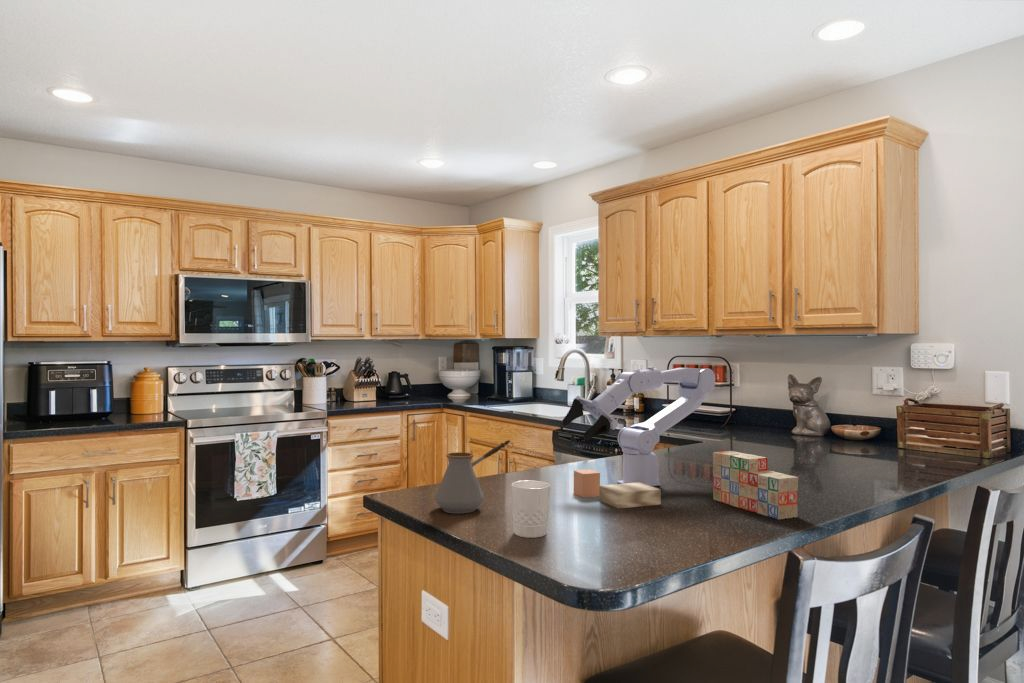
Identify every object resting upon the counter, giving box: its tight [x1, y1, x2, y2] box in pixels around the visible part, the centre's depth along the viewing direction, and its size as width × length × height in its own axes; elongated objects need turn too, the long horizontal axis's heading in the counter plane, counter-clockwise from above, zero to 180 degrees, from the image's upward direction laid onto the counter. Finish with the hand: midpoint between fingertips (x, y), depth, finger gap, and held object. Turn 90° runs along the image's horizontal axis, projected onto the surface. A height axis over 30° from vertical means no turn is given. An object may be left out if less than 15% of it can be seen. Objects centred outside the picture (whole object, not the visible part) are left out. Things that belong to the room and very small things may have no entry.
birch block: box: [598, 482, 662, 509], centre depth 159 cm, size 12×9×4 cm
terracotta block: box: [573, 468, 601, 498], centre depth 166 cm, size 5×5×6 cm
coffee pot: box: [434, 439, 514, 514], centre depth 153 cm, size 21×12×15 cm, turn 130°
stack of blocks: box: [712, 450, 799, 520], centre depth 154 cm, size 21×6×12 cm, turn 24°
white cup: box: [510, 479, 551, 539], centre depth 131 cm, size 8×8×10 cm
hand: (573, 430), depth 169 cm, fingers open, 7 cm apart
